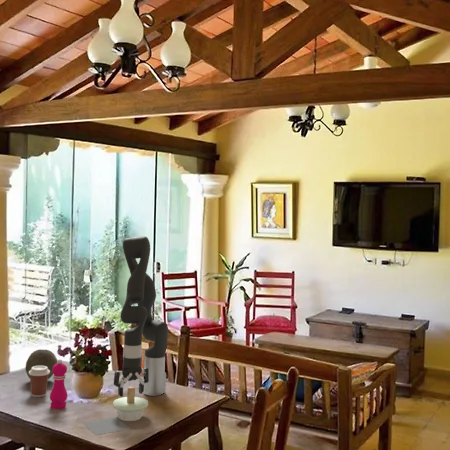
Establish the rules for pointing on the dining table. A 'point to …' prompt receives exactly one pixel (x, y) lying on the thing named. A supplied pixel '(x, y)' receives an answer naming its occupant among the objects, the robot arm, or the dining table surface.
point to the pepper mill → (58, 386)
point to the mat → (106, 426)
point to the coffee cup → (39, 380)
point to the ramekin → (129, 415)
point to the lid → (130, 402)
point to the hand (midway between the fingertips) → (130, 394)
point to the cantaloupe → (41, 360)
